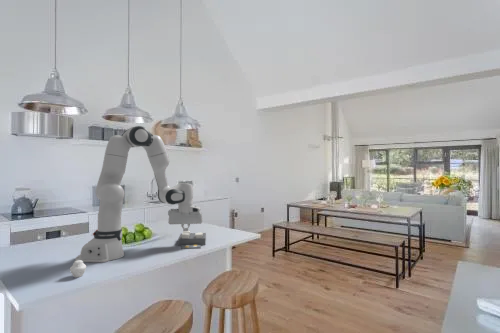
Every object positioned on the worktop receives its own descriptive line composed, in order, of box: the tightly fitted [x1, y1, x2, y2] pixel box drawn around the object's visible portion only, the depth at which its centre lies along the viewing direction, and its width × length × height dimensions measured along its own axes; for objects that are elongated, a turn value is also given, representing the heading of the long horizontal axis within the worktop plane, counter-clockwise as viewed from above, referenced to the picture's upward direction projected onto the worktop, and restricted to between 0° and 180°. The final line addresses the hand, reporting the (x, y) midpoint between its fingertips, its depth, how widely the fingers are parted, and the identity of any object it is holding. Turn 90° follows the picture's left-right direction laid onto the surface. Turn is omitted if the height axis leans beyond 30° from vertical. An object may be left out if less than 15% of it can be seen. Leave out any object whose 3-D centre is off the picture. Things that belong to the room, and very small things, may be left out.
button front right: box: [195, 232, 203, 238], centre depth 177 cm, size 4×4×3 cm
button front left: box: [182, 232, 189, 239], centre depth 176 cm, size 4×4×3 cm
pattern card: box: [180, 245, 202, 250], centre depth 169 cm, size 11×5×1 cm, turn 97°
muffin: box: [69, 260, 87, 278], centre depth 125 cm, size 6×6×7 cm
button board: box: [177, 232, 207, 247], centre depth 180 cm, size 16×14×4 cm
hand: (185, 231), depth 176 cm, fingers closed
